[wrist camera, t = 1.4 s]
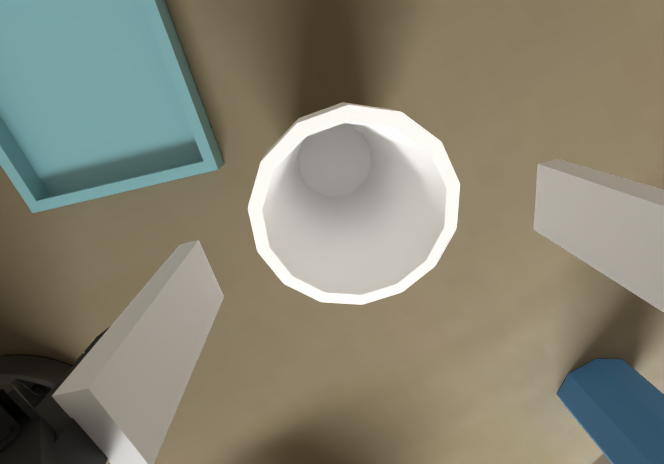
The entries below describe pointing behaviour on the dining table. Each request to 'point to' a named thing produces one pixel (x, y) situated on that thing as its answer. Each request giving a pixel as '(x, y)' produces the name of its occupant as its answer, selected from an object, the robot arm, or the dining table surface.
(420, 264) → the foam cup
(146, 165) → the tray
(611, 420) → the water bottle
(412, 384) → the dining table surface
